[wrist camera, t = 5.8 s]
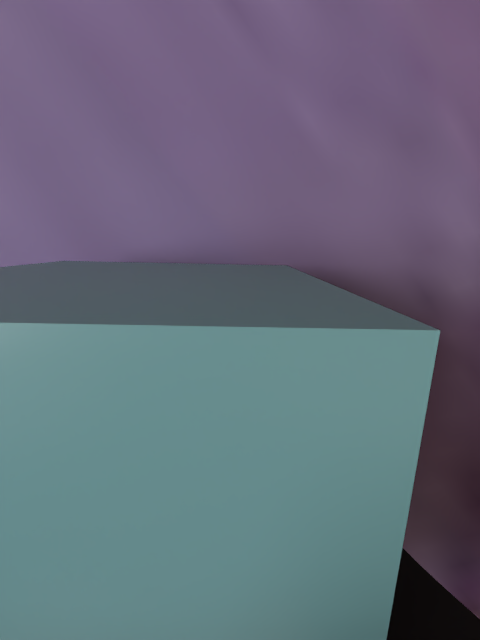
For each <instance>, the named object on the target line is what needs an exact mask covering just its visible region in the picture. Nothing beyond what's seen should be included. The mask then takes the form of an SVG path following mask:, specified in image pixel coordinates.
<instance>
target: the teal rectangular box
mask: <svg viewBox="0 0 480 640" xmlns="http://www.w3.org/2000/svg"><path fill="white" fill-rule="evenodd" d="M439 335H440V330H438V329H436V328H433V327H431V326H429V325H426V324H424V323H422V322H419V321H417V320H415V319H412V318H410V317H407V316H405V315H403V314H400V313H398V312H396V311H393V310H391V309H389V308H386V307H384V306H381V305H379V304H377V303H374V302H372V301H370V300H367V299H365V298H363V297H360V296H358V295H355V294H353V293H351V292H348V291H346V290H344V289H341V288H339V287H336V286H334V285H332V284H329V283H327V282H325V281H322V280H320V279H318V278H315V277H313V276H310V275H308V274H306V273H303V272H301V271H299V270H296V269H294V268H292V267H289V266H282V265H234V264H186V263H138V262H89V261H59V262H48V263H38V264H28V265H18V266H8V267H0V640H386V639H387V633H388V628H389V622H390V616H391V610H392V605H393V599H394V593H395V587H396V582H397V576H398V570H399V565H400V559H401V553H402V547H403V542H404V536H405V530H406V524H407V519H408V513H409V507H410V501H411V496H412V490H413V484H414V478H415V473H416V467H417V461H418V456H419V450H420V444H421V438H422V433H423V427H424V421H425V415H426V410H427V404H428V398H429V392H430V387H431V381H432V375H433V369H434V364H435V358H436V352H437V347H438V341H439Z"/></svg>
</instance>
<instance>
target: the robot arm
mask: <svg viewBox="0 0 480 640" xmlns="http://www.w3.org/2000/svg"><path fill="white" fill-rule="evenodd" d="M386 640H480V619H478V618H477V617H476V616H475V615H474V614H473V613H472V612H471V611H470V610H468V609H467V608H466V607H465V606H464V605H463V604H462V603H461V602H460V601H458V600H457V599H456V598H455V597H454V596H453V595H452V594H451V593H450V592H448V591H447V590H446V589H445V588H444V587H443V586H442V585H441V584H439V583H438V582H437V581H436V580H435V579H434V578H433V577H432V576H431V575H430V574H429V573H428V572H427V571H426V570H425V569H423V568H422V567H421V566H420V565H419V564H418V563H417V562H416V561H415V560H414V559H413V558H412V557H411V556H410V555H409V554H408V553H407V552H406V551H405V550H404V549H403V548H402V553H401V559H400V565H399V570H398V576H397V582H396V587H395V593H394V599H393V605H392V610H391V616H390V622H389V628H388V633H387V639H386Z"/></svg>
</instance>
